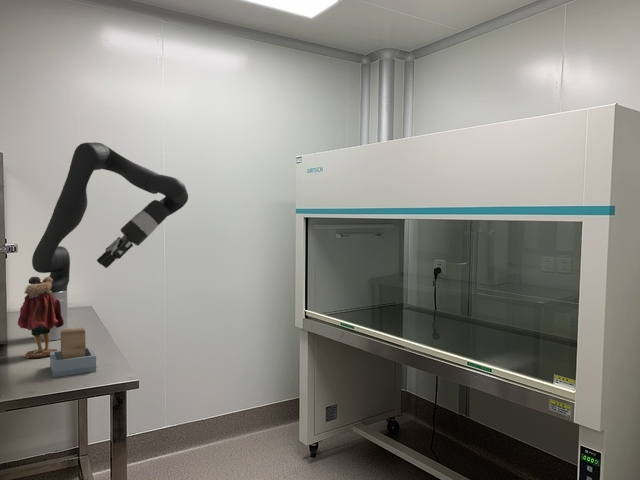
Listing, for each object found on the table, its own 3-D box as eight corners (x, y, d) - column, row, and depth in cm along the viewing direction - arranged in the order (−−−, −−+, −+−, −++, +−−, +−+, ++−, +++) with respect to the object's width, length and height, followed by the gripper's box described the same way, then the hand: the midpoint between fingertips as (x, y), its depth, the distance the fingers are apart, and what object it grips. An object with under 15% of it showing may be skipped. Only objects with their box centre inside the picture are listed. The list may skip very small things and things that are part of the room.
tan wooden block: (60, 363, 145) (60, 329, 144) (83, 360, 148) (83, 327, 147) (62, 367, 141) (62, 333, 140) (85, 364, 144) (85, 330, 143)
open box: (50, 366, 146) (50, 351, 146) (90, 361, 152) (90, 346, 152) (53, 377, 137) (53, 361, 136) (96, 371, 143) (96, 356, 142)
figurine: (54, 347, 166) (53, 274, 165) (68, 353, 160) (67, 277, 158) (13, 355, 157) (12, 277, 155) (26, 362, 150) (25, 280, 149)
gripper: (126, 218, 162) (88, 254, 157) (136, 220, 150) (95, 258, 145) (142, 234, 165) (106, 269, 160) (153, 237, 153) (114, 275, 148)
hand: (101, 264), depth 152 cm, fingers open, 8 cm apart
